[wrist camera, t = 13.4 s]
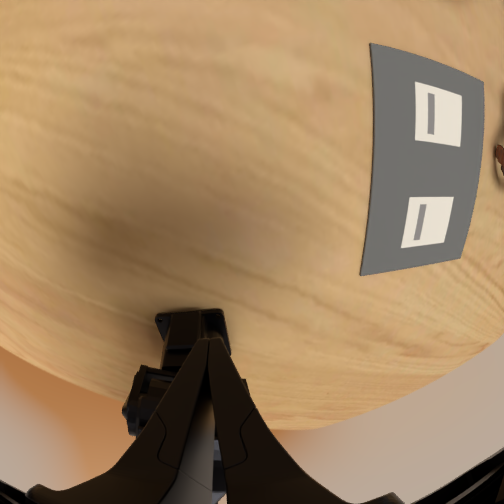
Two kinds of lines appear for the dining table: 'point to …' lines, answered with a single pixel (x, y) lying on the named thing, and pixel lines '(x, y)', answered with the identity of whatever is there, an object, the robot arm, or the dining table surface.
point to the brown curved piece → (500, 156)
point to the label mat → (421, 161)
